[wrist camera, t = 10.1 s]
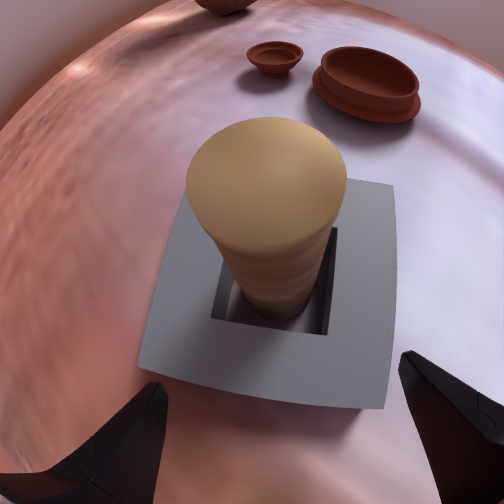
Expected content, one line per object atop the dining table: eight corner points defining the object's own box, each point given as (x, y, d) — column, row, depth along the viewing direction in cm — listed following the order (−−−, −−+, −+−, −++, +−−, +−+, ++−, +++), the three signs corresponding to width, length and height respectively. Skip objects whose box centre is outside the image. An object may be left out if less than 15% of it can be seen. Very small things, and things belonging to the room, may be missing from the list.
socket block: (366, 402, 16) (383, 409, 12) (160, 367, 18) (136, 366, 15) (380, 211, 21) (393, 185, 17) (205, 191, 23) (193, 165, 20)
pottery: (404, 155, 23) (418, 122, 19) (226, 91, 29) (219, 60, 24) (421, 97, 26) (431, 69, 22) (275, 49, 32) (273, 22, 28)
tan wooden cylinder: (293, 333, 18) (307, 275, 7) (232, 303, 19) (156, 206, 8) (323, 273, 19) (365, 144, 8) (264, 246, 21) (236, 105, 9)
